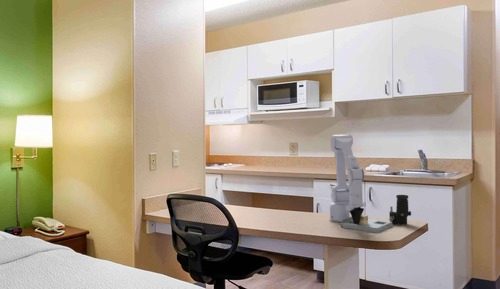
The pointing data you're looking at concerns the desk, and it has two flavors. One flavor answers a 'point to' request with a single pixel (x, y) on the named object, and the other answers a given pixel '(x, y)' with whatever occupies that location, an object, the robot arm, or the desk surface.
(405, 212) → the scope
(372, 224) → the board
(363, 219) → the block
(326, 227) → the desk surface
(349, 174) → the robot arm
